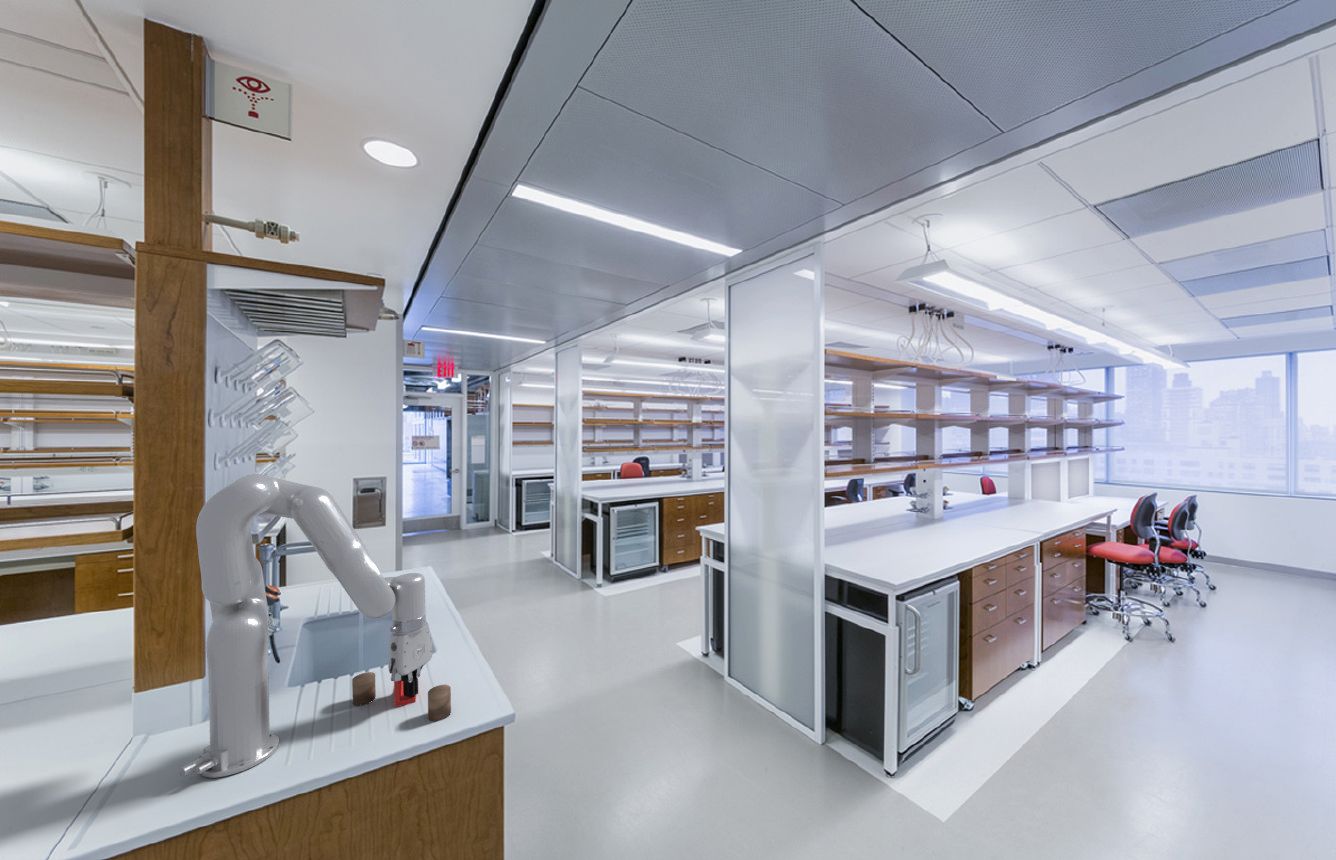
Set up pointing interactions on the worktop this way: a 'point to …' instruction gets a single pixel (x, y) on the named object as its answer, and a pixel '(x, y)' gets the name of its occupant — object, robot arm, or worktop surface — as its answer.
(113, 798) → the worktop surface
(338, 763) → the worktop surface
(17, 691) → the worktop surface
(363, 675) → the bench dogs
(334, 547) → the robot arm
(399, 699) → the bracket
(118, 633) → the worktop surface
